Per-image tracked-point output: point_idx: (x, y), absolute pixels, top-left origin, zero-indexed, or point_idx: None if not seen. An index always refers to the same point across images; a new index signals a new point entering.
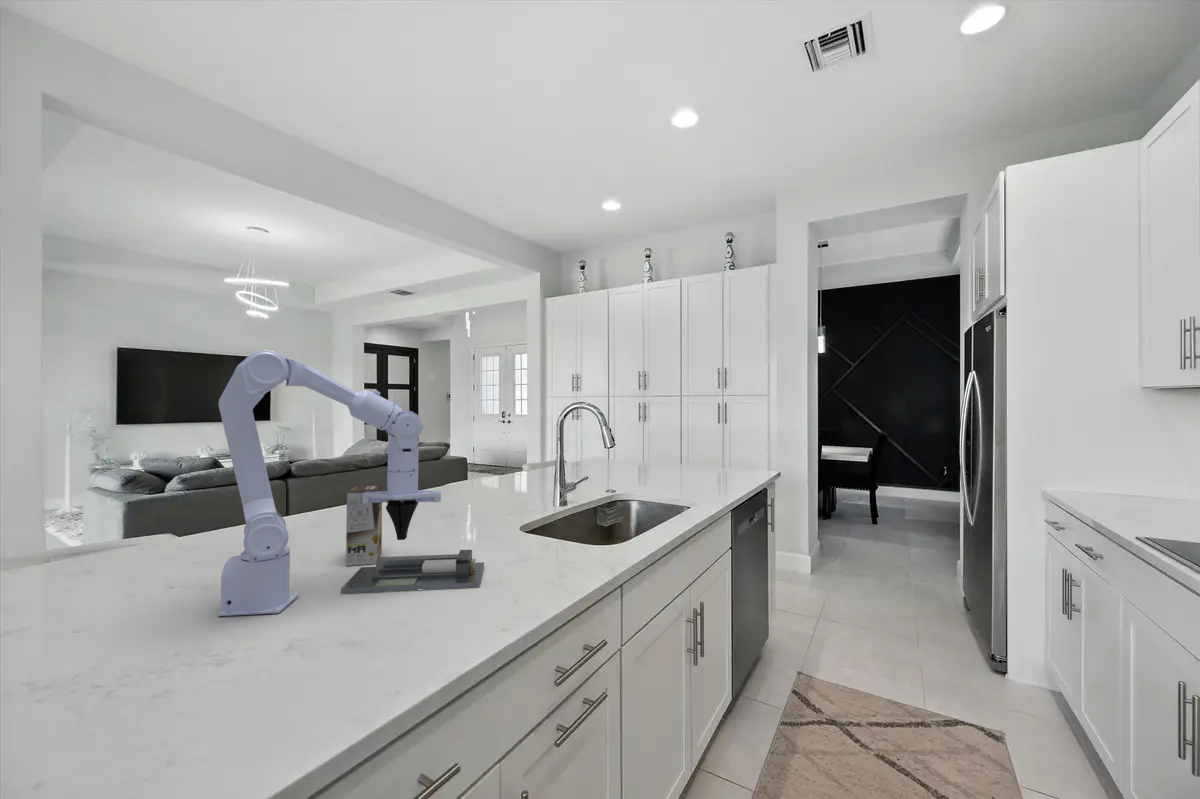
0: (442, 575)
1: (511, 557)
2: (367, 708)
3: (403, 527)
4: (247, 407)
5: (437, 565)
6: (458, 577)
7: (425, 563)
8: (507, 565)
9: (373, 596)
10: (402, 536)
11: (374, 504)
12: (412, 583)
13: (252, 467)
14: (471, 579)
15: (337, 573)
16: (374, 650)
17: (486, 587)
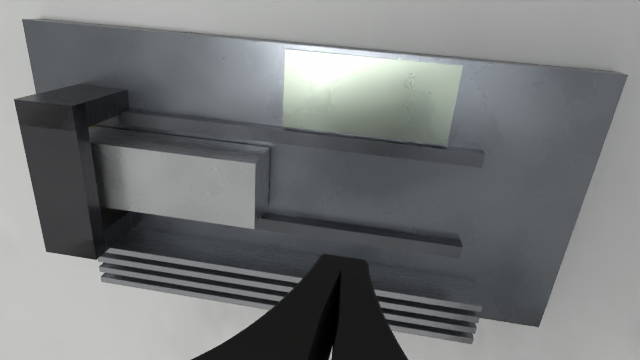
0: (179, 117)
1: (12, 309)
2: None
3: (308, 294)
4: None
5: (187, 153)
6: (114, 89)
7: (244, 186)
8: (4, 237)
9: (461, 7)
10: (329, 263)
11: None
12: (293, 50)
13: None
14: (62, 63)
15: (630, 325)
16: None
17: (13, 15)
